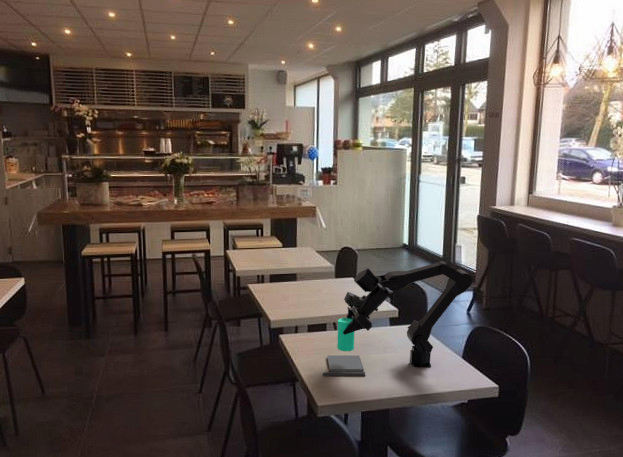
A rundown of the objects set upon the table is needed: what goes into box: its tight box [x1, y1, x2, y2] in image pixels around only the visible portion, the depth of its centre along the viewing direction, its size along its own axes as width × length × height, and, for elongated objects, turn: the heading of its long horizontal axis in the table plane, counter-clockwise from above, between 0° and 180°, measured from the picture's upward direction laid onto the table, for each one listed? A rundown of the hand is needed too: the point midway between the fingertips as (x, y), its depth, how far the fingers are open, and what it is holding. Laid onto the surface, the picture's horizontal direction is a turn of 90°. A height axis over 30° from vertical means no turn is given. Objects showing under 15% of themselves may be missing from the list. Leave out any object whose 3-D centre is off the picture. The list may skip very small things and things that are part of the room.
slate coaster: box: [326, 354, 365, 372], centre depth 199 cm, size 12×12×1 cm
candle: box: [336, 315, 355, 352], centre depth 196 cm, size 6×6×12 cm
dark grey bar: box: [322, 371, 366, 377], centre depth 190 cm, size 15×1×1 cm, turn 93°
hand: (342, 330), depth 196 cm, fingers closed on candle, 5 cm apart
